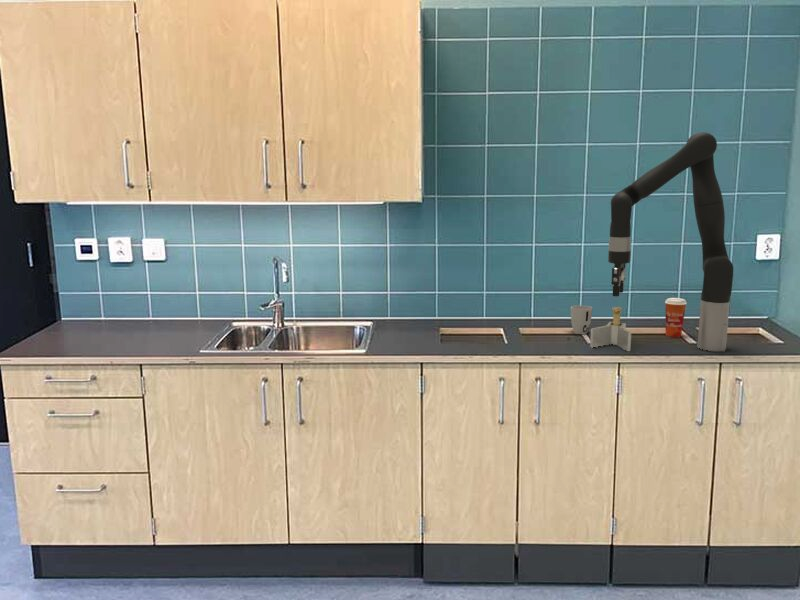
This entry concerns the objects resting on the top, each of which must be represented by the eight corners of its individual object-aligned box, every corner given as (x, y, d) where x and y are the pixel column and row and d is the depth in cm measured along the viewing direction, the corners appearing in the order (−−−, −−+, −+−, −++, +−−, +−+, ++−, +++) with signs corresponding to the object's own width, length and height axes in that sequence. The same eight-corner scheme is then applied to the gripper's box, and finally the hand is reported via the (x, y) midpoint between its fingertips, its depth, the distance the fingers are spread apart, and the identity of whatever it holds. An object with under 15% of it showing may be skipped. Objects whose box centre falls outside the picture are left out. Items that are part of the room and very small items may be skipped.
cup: (586, 336, 273) (587, 310, 272) (566, 333, 278) (567, 307, 276) (594, 332, 280) (595, 306, 278) (574, 329, 285) (575, 304, 283)
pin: (620, 342, 264) (622, 307, 261) (619, 344, 261) (621, 309, 258) (611, 341, 265) (613, 306, 263) (609, 343, 262) (611, 308, 260)
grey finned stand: (636, 343, 262) (637, 324, 261) (629, 352, 250) (631, 332, 248) (597, 339, 268) (598, 320, 267) (589, 348, 256) (590, 328, 254)
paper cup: (661, 336, 272) (663, 300, 269) (664, 332, 279) (666, 296, 276) (683, 338, 268) (685, 302, 266) (685, 334, 275) (688, 298, 273)
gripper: (627, 252, 249) (625, 298, 251) (633, 247, 261) (631, 291, 264) (605, 251, 252) (603, 297, 255) (612, 247, 264) (610, 290, 267)
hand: (618, 294), depth 259 cm, fingers open, 8 cm apart
